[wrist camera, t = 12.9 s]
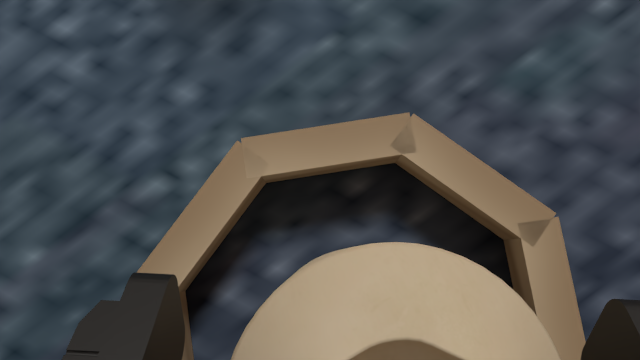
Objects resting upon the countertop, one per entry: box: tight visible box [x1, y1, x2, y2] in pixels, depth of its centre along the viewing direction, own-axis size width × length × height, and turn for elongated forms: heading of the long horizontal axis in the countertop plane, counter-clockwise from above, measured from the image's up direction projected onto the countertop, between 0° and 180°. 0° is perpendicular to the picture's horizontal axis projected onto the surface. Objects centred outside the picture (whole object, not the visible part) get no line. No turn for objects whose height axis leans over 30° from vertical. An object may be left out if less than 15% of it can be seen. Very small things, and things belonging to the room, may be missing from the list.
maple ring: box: [137, 113, 586, 360], centre depth 16 cm, size 12×12×2 cm
